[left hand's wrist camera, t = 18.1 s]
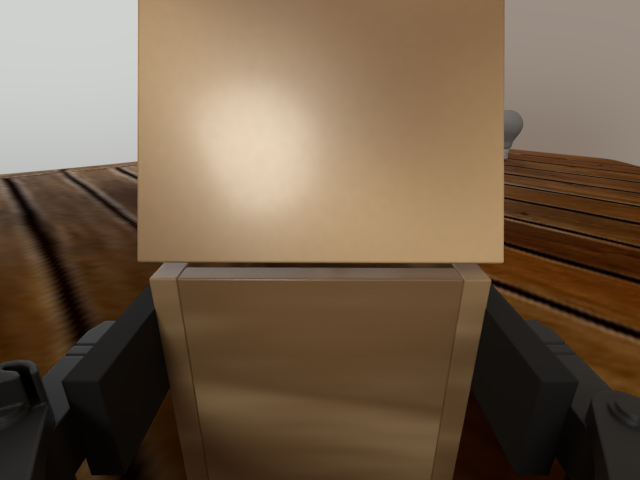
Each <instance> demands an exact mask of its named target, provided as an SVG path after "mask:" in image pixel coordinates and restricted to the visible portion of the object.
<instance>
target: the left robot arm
mask: <svg viewBox="0 0 640 480" xmlns="http://www.w3.org/2000/svg"><path fill="white" fill-rule="evenodd" d="M169 388H170V384H169V379H168V374H167V369H166V363H165V358H164V353H163V348H162V342H161V337H160V332H159V327H158V322H157V316H156V311H155V307H154V302H153V297H152V291H151V286H150V284H149V285H148V286H147V287H146V288H145V289H144V290H143V291H142V292H141V294H140V295H139V296H138V297H137V298H136V299H135V300H134V301H133V302H132V304H131V305H130V306H129V307H128V308H127V309H126V310H125V311H124V312H123V313H122V315H121V316H120V317H119V318H118V319H117V320H116V321H104V322H102V323H101V324H99V325H98V326H96V327H94V328H93V329H91V330H89V331H88V332H87V333H86V334H85V335H84V336H83V337H82V338H81V339H80V340H79V341H78V342H77V343H76V346H73V347H72V348H71V349H70V350H69V351H68V352H67V353H66V356H63V357H62V358H61V359H60V360H59V361H58V362H57V363H56V364H55V365H54V366H53V367H52V368H51V369H50V370H49V371H48V372H47V373H46V374H45V376H44V377H43V378H41V375H40V372H39V370H38V367H37V365H36V364H35V363H33V362H32V361H27V360H15V361H8V362H4V363H1V364H0V480H77V479H76V476H75V473H76V472H77V470H78V469H79V467H80V466H81V464H82V462H83V461H84V459H85V458H86V459H87V462H88V465H89V468H90V472H91V475H125V473H126V471H127V470H128V468H129V466H130V464H131V462H132V460H133V458H134V456H135V454H136V452H137V450H138V448H139V446H140V444H141V442H142V440H143V438H144V436H145V434H146V433H147V431H148V429H149V427H150V425H151V423H152V421H153V419H154V417H155V415H156V413H157V411H158V409H159V407H160V405H161V403H162V401H163V399H164V397H165V396H166V394H167V392H168V390H169ZM471 389H472V391H473V393H474V395H475V397H476V399H477V401H478V402H479V404H480V406H481V408H482V410H483V412H484V414H485V416H486V418H487V420H488V422H489V424H490V426H491V428H492V430H493V432H494V434H495V436H496V438H497V439H498V441H499V443H500V445H501V447H502V449H503V451H504V453H505V455H506V457H507V459H508V461H509V463H510V465H511V467H512V469H513V471H514V473H515V475H549V473H550V470H551V467H552V464H553V461H554V458H555V457H556V458H557V460H558V461H559V463H560V464H561V466H562V468H563V469H564V471H565V472H566V473H565V476H564V479H563V480H640V398H638V397H635V396H632V395H629V394H627V393H624V392H619V391H613V390H612V389H611V388H610V387H609V386H608V385H607V384H606V383H605V382H604V381H603V380H602V379H601V378H600V377H599V376H598V375H597V374H596V373H595V372H594V371H593V370H592V369H591V368H590V367H589V366H588V365H587V364H586V363H585V362H584V361H583V360H582V359H581V358H580V357H579V356H578V355H575V352H574V351H573V350H572V349H571V348H570V347H569V346H568V345H565V342H564V341H563V340H562V339H561V338H560V337H559V336H558V335H557V334H556V333H555V332H554V331H553V330H552V329H550V328H549V327H547V326H545V325H544V324H542V323H540V322H539V321H537V320H523V318H522V317H521V316H520V315H519V314H518V313H517V312H516V311H515V310H514V309H513V307H512V306H511V305H510V304H509V303H508V302H507V301H506V300H505V299H504V297H503V296H502V295H501V294H500V293H499V292H498V291H497V290H496V289H495V288H494V286H493V285H492V284H491V285H490V290H489V296H488V301H487V306H486V309H485V314H484V320H483V325H482V330H481V335H480V340H479V345H478V351H477V356H476V361H475V366H474V371H473V376H472V382H471Z"/></svg>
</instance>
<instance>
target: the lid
mask: <svg viewBox="0 0 640 480" xmlns="http://www.w3.org/2000/svg"><path fill="white" fill-rule="evenodd" d="M137 260H138V262H140V263H449V264H501V263H503V262H504V0H138V255H137Z"/></svg>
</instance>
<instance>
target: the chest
mask: <svg viewBox="0 0 640 480" xmlns="http://www.w3.org/2000/svg"><path fill="white" fill-rule="evenodd" d="M149 281H150V286H151V291H152V297H153V302H154V307H155V311H156V316H157V322H158V327H159V332H160V337H161V342H162V348H163V353H164V358H165V363H166V369H167V374H168V379H169V384H170V392H171V397H172V402H173V408H174V413H175V418H176V423H177V429H178V434H179V439H180V445H181V450H182V455H183V460H184V466H185V471H186V476H187V480H452V479H453V474H454V469H455V464H456V459H457V454H458V449H459V443H460V438H461V433H462V428H463V423H464V418H465V413H466V408H467V403H468V398H469V392H470V387H471V382H472V376H473V371H474V366H475V361H476V356H477V351H478V345H479V340H480V335H481V330H482V325H483V320H484V314H485V309H486V306H487V301H488V296H489V290H490V285H491V279H490V278H489V277H488V276H487V275H486V273H485V272H484V271H483V270H482V269H481V268H480V267H479V266H478V265H477V264H449V263H163V265H162V266H161V267H160V268H159V269H158V270H157V271H156V272H155V273H154V274H153V275H152V276H151V278H150V279H149Z"/></svg>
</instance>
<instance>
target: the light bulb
mask: <svg viewBox="0 0 640 480" xmlns="http://www.w3.org/2000/svg"><path fill="white" fill-rule="evenodd" d="M522 127H523V120H522V118H521V116H520V115H519V114H518V113H517V112H515V111H512V110H506V111H504V159H507V158H508V157H507V156H508V155H507V154H508V152H509V149H510V147H511V146H512V143H513V141H514V140H515V138H516V137H517V136H518V134H519V133H520V132H521V130H522Z"/></svg>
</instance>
